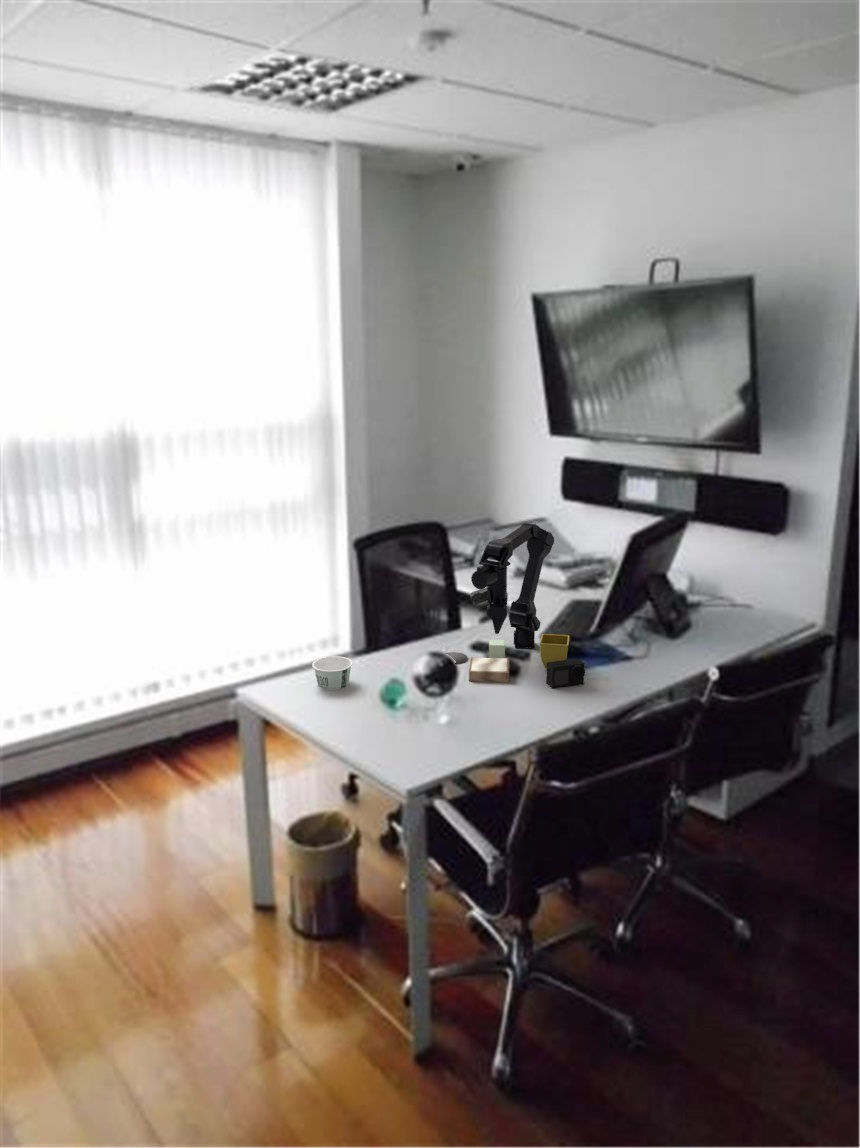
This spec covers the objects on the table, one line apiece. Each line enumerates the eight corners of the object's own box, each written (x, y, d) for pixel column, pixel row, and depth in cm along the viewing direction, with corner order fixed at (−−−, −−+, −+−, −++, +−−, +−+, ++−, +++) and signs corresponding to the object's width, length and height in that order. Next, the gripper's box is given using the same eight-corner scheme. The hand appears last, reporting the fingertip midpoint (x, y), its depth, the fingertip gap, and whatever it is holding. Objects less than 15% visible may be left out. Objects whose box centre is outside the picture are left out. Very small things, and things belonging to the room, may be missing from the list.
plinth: (509, 667, 276) (509, 657, 275) (508, 682, 264) (509, 672, 263) (470, 666, 277) (470, 656, 276) (468, 681, 265) (468, 671, 264)
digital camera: (553, 690, 258) (554, 668, 256) (545, 683, 263) (546, 661, 261) (585, 686, 261) (586, 664, 259) (577, 679, 266) (578, 658, 264)
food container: (361, 680, 267) (360, 660, 265) (337, 694, 257) (336, 673, 255) (329, 673, 272) (328, 653, 271) (305, 686, 263) (303, 666, 261)
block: (504, 657, 284) (505, 640, 282) (504, 663, 279) (504, 645, 278) (489, 657, 284) (489, 639, 283) (488, 662, 280) (488, 645, 278)
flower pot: (567, 672, 271) (568, 644, 269) (538, 670, 273) (539, 643, 270) (568, 662, 280) (569, 635, 277) (541, 660, 281) (541, 633, 279)
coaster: (468, 654, 287) (468, 652, 287) (466, 664, 278) (466, 662, 278) (440, 653, 288) (440, 651, 288) (438, 663, 279) (438, 661, 279)
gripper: (473, 573, 284) (473, 618, 289) (470, 589, 267) (470, 638, 271) (507, 573, 283) (507, 619, 288) (507, 590, 265) (506, 639, 270)
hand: (497, 628), depth 279 cm, fingers open, 9 cm apart
